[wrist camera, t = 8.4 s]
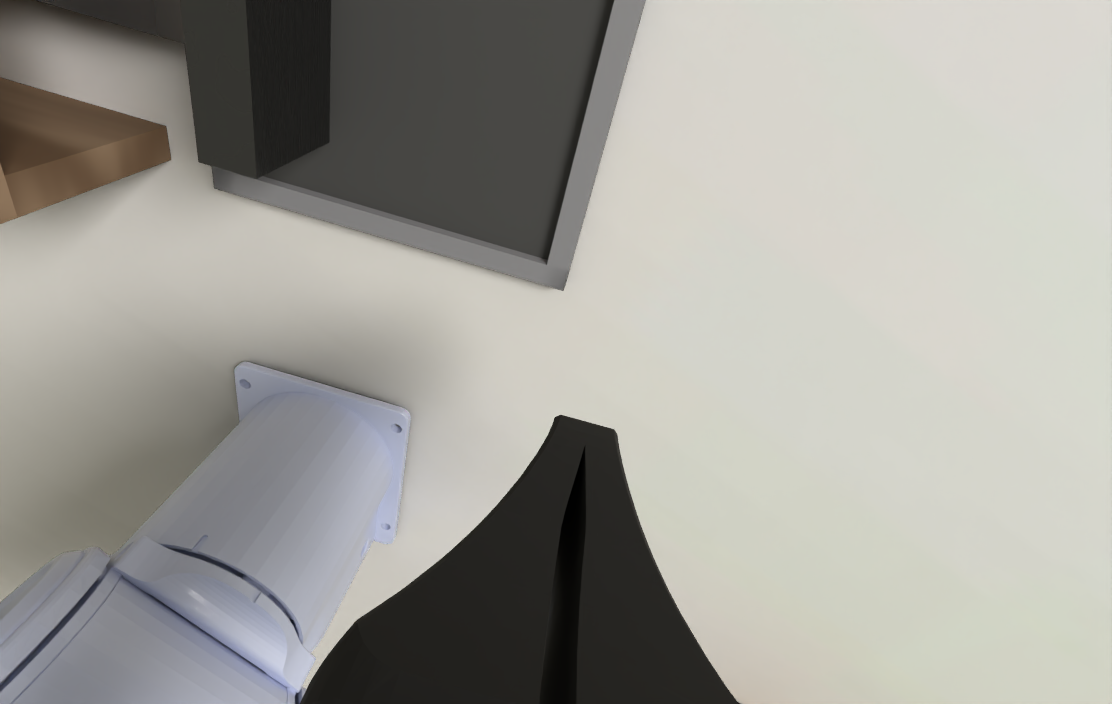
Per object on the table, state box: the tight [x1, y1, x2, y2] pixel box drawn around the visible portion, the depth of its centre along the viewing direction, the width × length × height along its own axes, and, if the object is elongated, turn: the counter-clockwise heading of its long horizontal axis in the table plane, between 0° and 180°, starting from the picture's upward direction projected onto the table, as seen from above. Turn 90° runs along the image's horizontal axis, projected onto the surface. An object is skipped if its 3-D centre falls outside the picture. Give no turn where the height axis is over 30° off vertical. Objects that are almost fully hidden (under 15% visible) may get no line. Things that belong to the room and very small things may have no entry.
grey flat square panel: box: [212, 0, 646, 291], centre depth 18 cm, size 12×13×1 cm
